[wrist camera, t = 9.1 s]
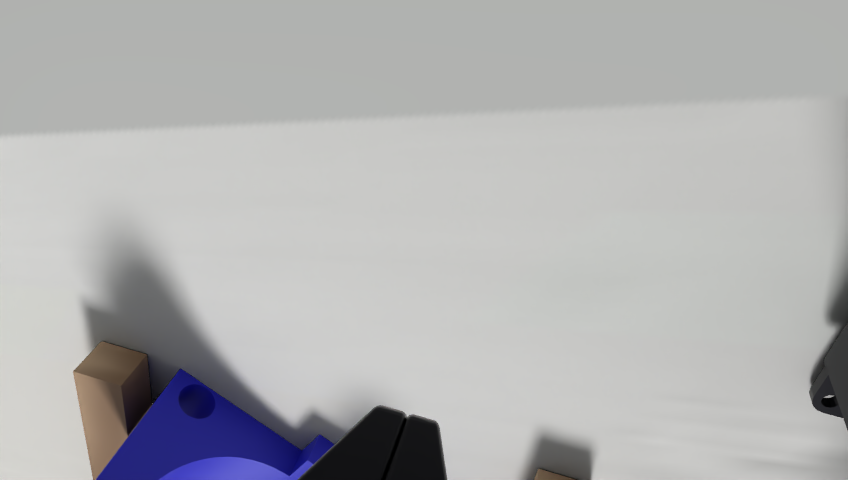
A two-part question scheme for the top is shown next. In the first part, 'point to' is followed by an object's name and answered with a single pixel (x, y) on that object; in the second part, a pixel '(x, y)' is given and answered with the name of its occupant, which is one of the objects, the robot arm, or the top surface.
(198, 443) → the cable clip
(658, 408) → the top surface
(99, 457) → the wooden rod frame
